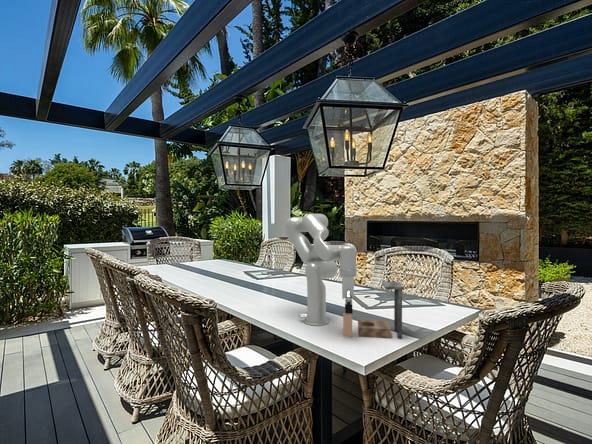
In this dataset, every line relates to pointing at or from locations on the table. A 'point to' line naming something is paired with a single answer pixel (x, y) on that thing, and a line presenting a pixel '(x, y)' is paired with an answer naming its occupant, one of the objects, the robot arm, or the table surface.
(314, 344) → the table surface
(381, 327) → the socket block
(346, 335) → the peg
